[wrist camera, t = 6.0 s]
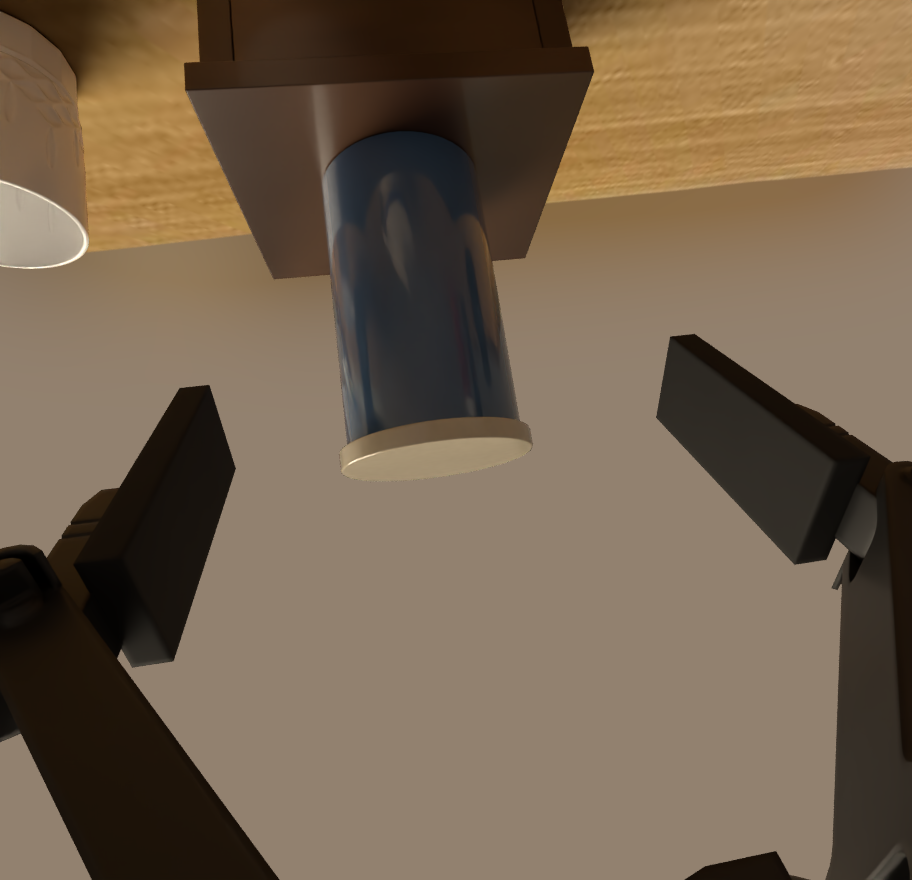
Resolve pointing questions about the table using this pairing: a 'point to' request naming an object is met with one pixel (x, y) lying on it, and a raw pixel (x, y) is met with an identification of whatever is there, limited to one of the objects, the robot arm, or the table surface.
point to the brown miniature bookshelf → (383, 103)
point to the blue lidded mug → (417, 313)
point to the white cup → (39, 153)
